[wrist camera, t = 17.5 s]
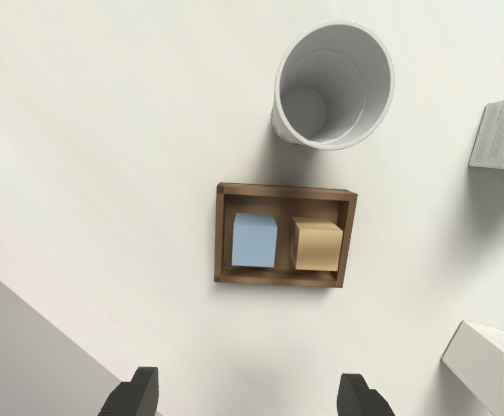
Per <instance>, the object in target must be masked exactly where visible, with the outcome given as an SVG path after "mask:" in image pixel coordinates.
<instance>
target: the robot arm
mask: <svg viewBox="0 0 504 416" xmlns="http://www.w3.org/2000/svg"><path fill="white" fill-rule="evenodd" d="M158 397H159V389H158V368H157V367H138V369H137V370H136V372H135V374H134V376H133V378H132V380H131V382H121V383H120V385H118V386H117V387H116V388H115V389H114V390H113V391H112V392H111V393H110V395H109V397H108V398H107V400H106V402H105V404H104V406H103V407H102V409H101V412H99V414H98V416H154V415H155V412H156V409H157V404H158ZM337 411H338V416H395V415H394V413H393V411H392V409H391V408H390V406H389V404H388V402H387V401H386V400H385V399H384V398H383V397H382V396H381V395H380V394H379V393H378V392H377V391H376V390H375V389H369V387H368V385H367V384H366V382H365V380H364V378H363V377H362V375H361V374H344V373H343V374H342V375H341V380H340V385H339V391H338V396H337Z"/></svg>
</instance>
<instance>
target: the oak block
mask: <svg viewBox="0 0 504 416" xmlns="http://www.w3.org/2000/svg"><path fill="white" fill-rule="evenodd" d="M342 235H343V231H342V230H341V229H340V228H338V227H337V226H336V225H335V224H334V223H332V222H331V221H330V220H329V219H328V218H308V217H291V228H290V238H289V249H288V251H289V253H290V256H291V258H292V261H293V263H294V266H295V268H296V269H303V270H326V271H337V269H338V262H339V255H340V249H341V242H342Z"/></svg>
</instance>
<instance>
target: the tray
mask: <svg viewBox="0 0 504 416" xmlns="http://www.w3.org/2000/svg"><path fill="white" fill-rule="evenodd" d="M357 196H358V194H356V193H353V192H350V191H348V190H341V189H324V188H307V187H290V186H273V185H256V184H239V183H222V182H220V183H219V184H218V185H217V197H216V234H215V272H214V282H231V283H251V284H272V285H292V286H312V287H332V288H342V287H343V281H344V275H345V269H346V263H347V257H348V251H349V245H350V238H351V232H352V226H353V220H354V214H355V208H356V202H357ZM236 213H246V214H264V215H273V217H274V220H275V222H276V225H277V237H276V248H275V259H274V267H257V266H238V265H232V251H233V229H234V221H235V217H236ZM291 217H308V218H328V219H329V220H330V221H331V222H332V223H334V224H335V225H336V226H337V227H338V228H340V229H341V230H342V231H343V235H342V242H341V249H340V255H339V262H338V269H337V271H326V270H303V269H296V268H295V266H294V263H293V261H292V258H291V256H290V253H289V251H288V249H289V238H290V228H291Z"/></svg>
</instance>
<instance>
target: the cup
mask: <svg viewBox="0 0 504 416" xmlns="http://www.w3.org/2000/svg"><path fill="white" fill-rule="evenodd" d="M394 87H395V73H394V66H393V62H392V59H391V56H390V53H389V51H388V49H387V47H386V46H385V44H384V43H383V41H382V40H381V39H380V38H379V37H378V35H377V34H375V33H374V32H373V31H372V30H371V29H369V28H368V27H366V26H364V25H362V24H360V23H357V22H354V21H350V20H329V21H325V22H321V23H319V24H316V25H314V26H312V27H310V28H309V29H307V30H306V31H304V32H303V33H302V34H300V35H299V36H298V37H297V38H296V39H295V40H294V41H293V42H292V43H291V45H290V46H289V47H288V49H287V50H286V52H285V54H284V55H283V57H282V59H281V62H280V64H279V67H278V70H277V74H276V80H275V92H274V104H273V108H272V113H271V121H272V125H273V128H274V130H275V132H276V134H277V135H278V136H279V137H280V138H281V139H282V140H284V141H285V142H287V143H290V144H295V145H299V144H302V145H305V146H308V147H312V148H316V149H320V150H340V149H344V148H348V147H351V146H353V145H355V144H357V143H359V142H361V141H362V140H364V139H365V138H367V137H368V136H369V135H370V134H371V133H372V132H373V131H374V130H375V129H376V128H377V127H378V126H379V125H380V123H381V122H382V120H383V119H384V117H385V115H386V114H387V112H388V109H389V107H390V104H391V101H392V98H393V93H394Z"/></svg>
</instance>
